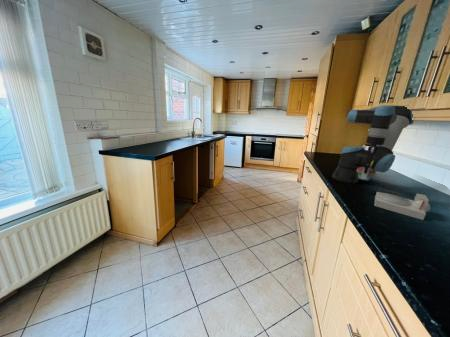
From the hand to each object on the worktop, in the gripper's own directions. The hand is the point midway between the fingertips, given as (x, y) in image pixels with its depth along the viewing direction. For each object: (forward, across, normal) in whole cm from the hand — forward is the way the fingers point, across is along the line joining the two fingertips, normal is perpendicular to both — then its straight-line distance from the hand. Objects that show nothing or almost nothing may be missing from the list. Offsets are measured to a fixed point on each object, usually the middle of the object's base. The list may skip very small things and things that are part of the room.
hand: (364, 176), depth 104 cm
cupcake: (+2, 0, 0) cm, 2 cm away
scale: (+9, +8, +16) cm, 20 cm away
